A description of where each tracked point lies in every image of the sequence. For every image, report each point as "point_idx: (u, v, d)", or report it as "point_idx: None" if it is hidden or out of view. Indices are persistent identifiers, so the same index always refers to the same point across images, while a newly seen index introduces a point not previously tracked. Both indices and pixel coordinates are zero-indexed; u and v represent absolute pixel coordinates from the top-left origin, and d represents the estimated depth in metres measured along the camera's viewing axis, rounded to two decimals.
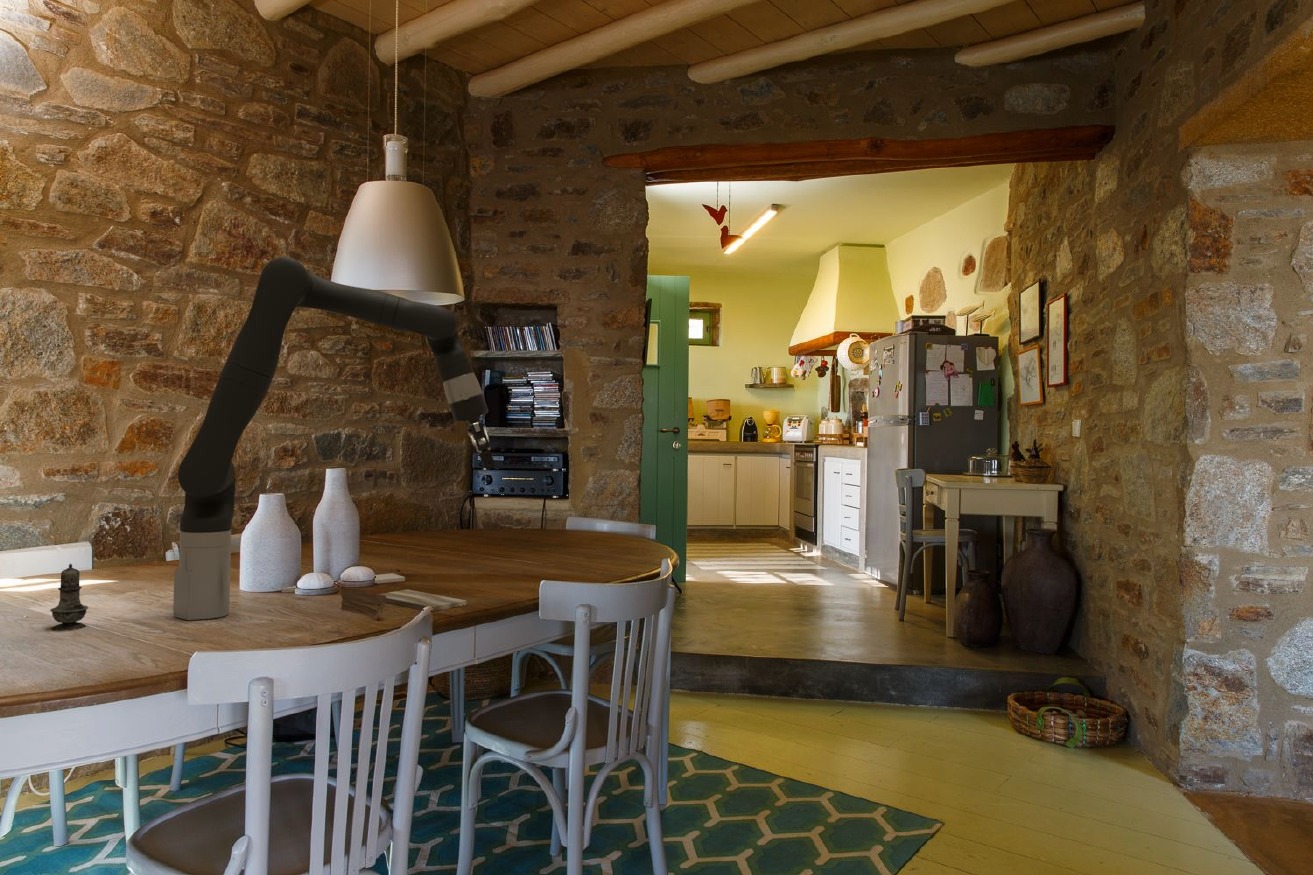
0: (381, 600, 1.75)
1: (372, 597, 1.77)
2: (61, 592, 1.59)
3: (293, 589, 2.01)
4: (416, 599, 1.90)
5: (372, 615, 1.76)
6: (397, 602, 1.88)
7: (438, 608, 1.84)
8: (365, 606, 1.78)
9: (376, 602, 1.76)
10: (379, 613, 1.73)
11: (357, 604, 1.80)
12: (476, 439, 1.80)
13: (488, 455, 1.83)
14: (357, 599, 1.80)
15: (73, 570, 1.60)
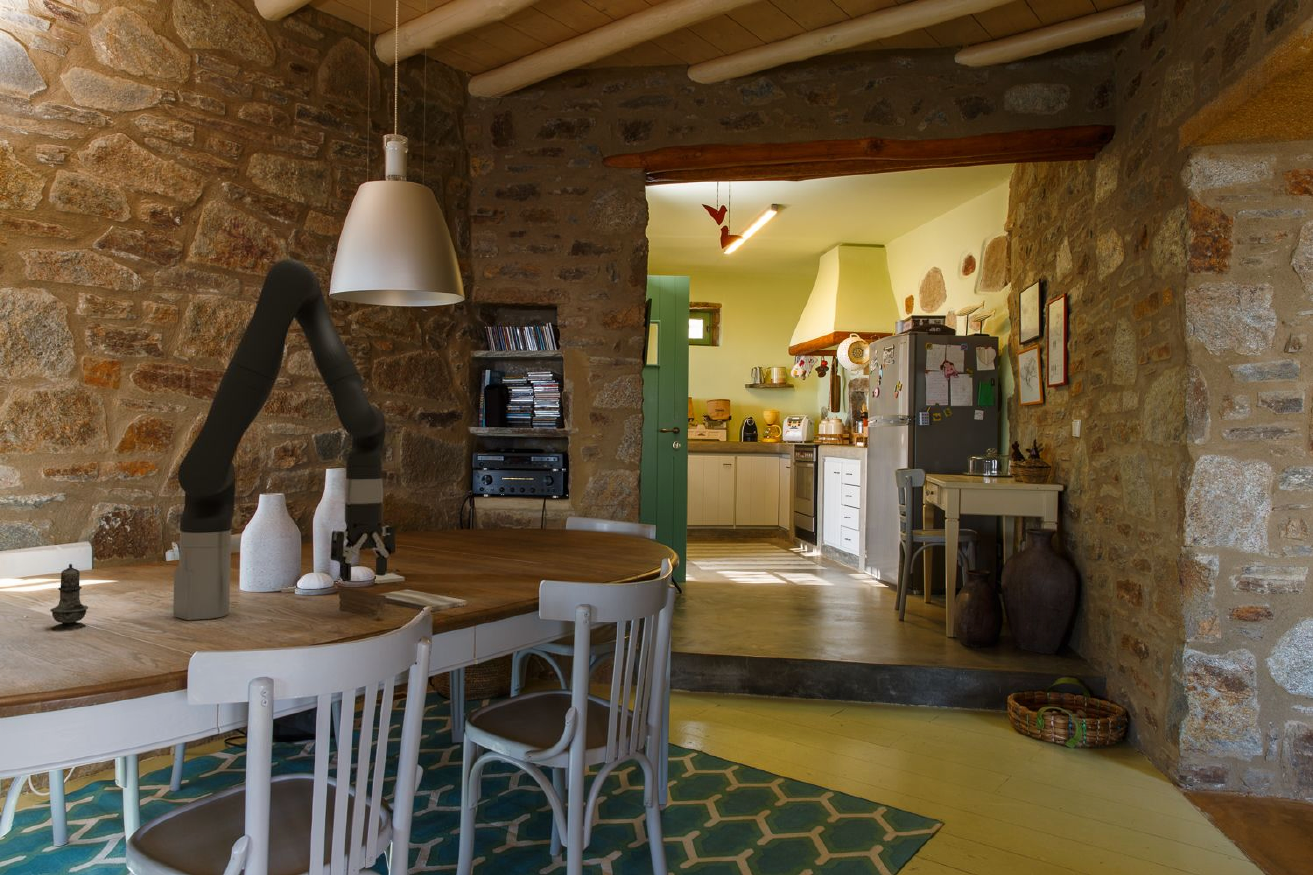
0: (380, 600, 1.74)
1: (372, 597, 1.77)
2: (61, 592, 1.59)
3: (293, 589, 2.01)
4: (416, 599, 1.90)
5: (371, 615, 1.76)
6: (397, 602, 1.88)
7: (438, 608, 1.84)
8: (364, 606, 1.78)
9: (375, 602, 1.76)
10: (379, 613, 1.73)
11: (355, 604, 1.80)
12: (331, 548, 1.73)
13: (343, 567, 1.74)
14: (356, 599, 1.79)
15: (73, 570, 1.60)
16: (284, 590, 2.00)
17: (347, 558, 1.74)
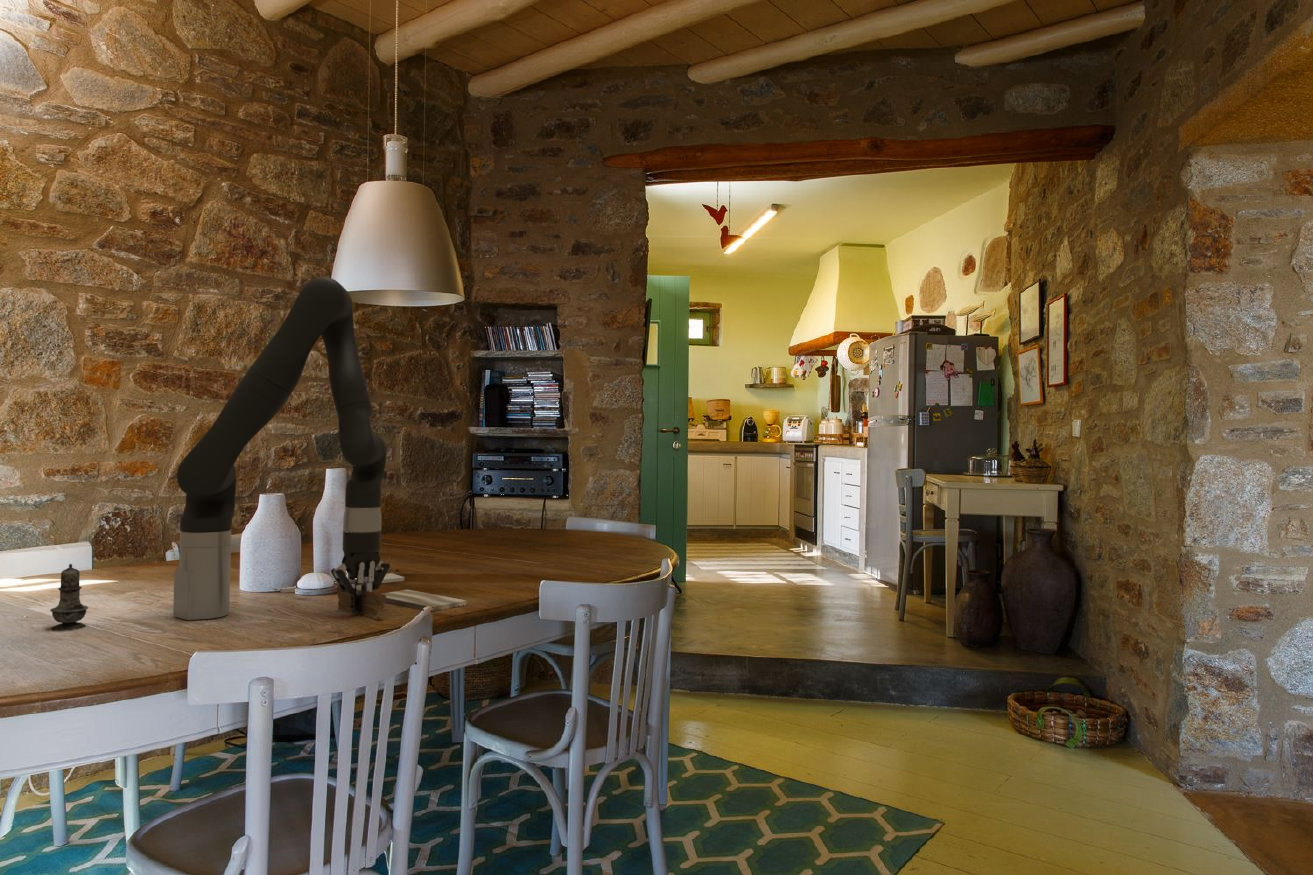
0: (380, 599, 1.74)
1: (371, 597, 1.77)
2: (61, 592, 1.59)
3: (293, 589, 2.01)
4: (416, 599, 1.90)
5: (371, 614, 1.76)
6: (397, 602, 1.88)
7: (438, 608, 1.84)
8: (363, 606, 1.78)
9: (375, 601, 1.76)
10: (380, 613, 1.73)
11: None
12: (338, 584, 1.75)
13: (353, 599, 1.76)
14: None
15: (73, 570, 1.60)
16: (284, 590, 1.99)
17: (357, 591, 1.76)
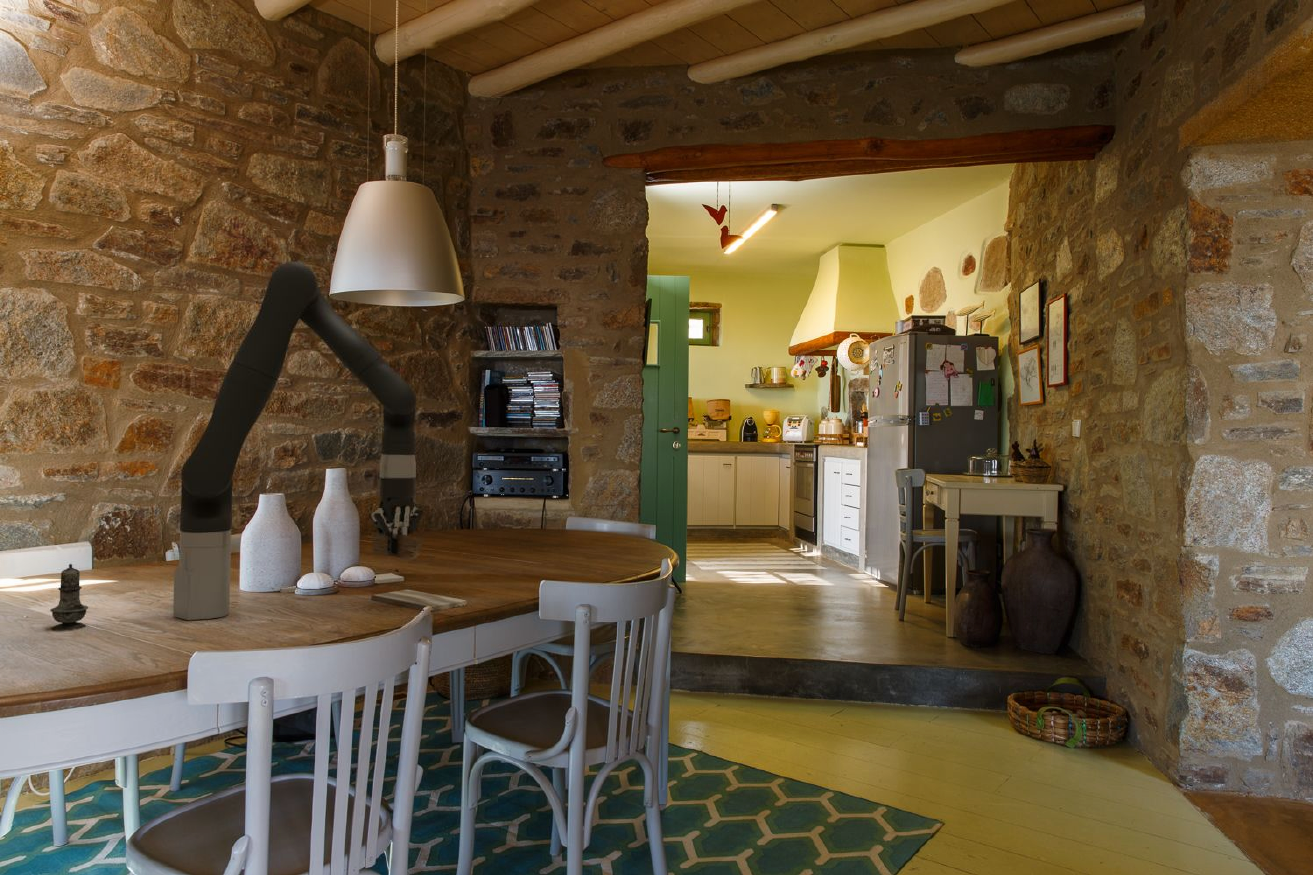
0: (416, 541, 1.83)
1: (407, 540, 1.85)
2: (61, 592, 1.59)
3: (292, 589, 2.01)
4: (416, 599, 1.90)
5: (408, 556, 1.84)
6: (397, 602, 1.88)
7: (438, 608, 1.84)
8: (399, 549, 1.86)
9: (411, 544, 1.84)
10: (417, 554, 1.82)
11: None
12: (376, 527, 1.83)
13: (390, 542, 1.85)
14: None
15: (73, 570, 1.60)
16: (284, 590, 1.99)
17: (393, 534, 1.84)
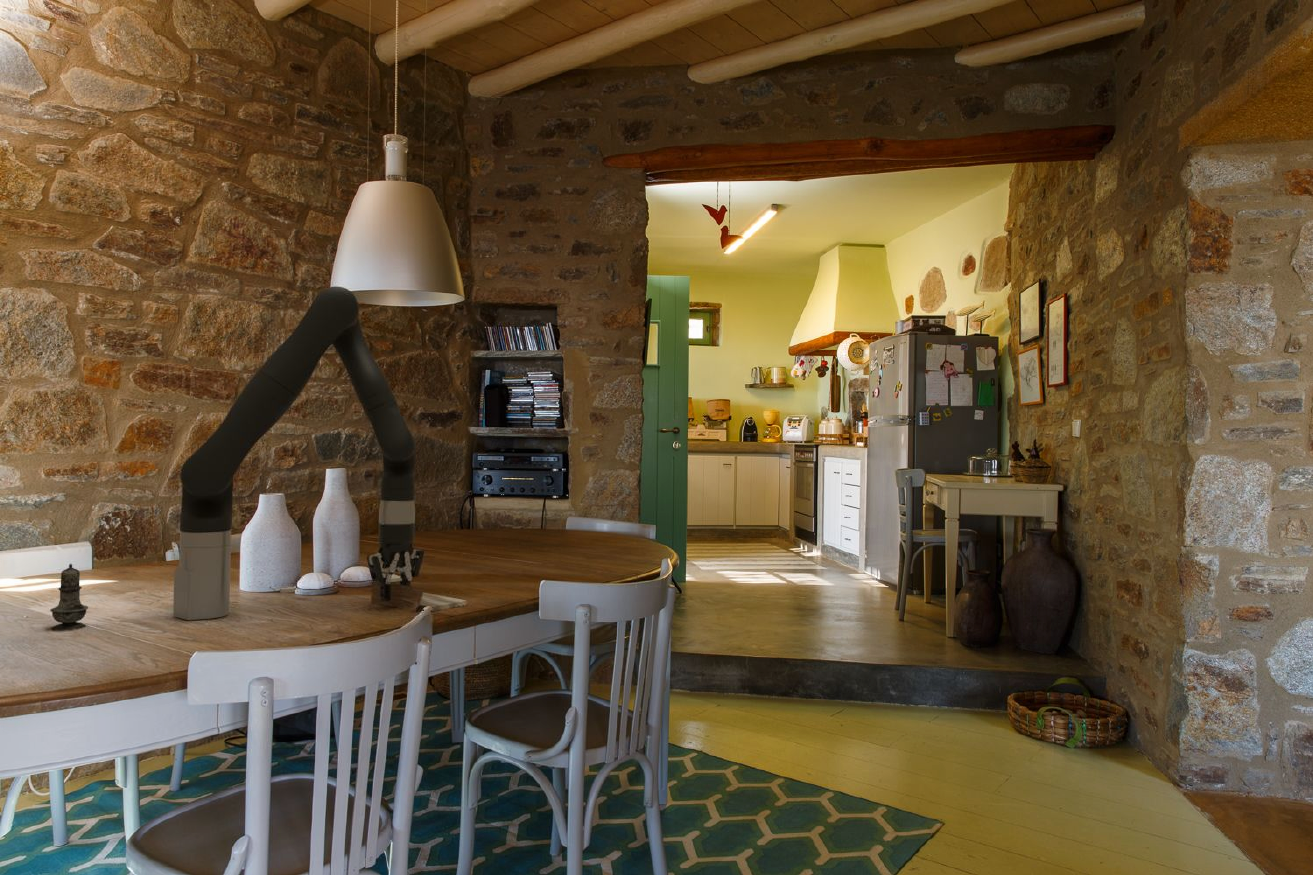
0: (417, 592, 1.83)
1: (407, 590, 1.86)
2: (61, 592, 1.59)
3: (292, 590, 2.00)
4: None
5: (407, 607, 1.84)
6: None
7: (438, 608, 1.84)
8: (398, 599, 1.86)
9: (411, 595, 1.85)
10: (417, 605, 1.82)
11: None
12: (370, 571, 1.82)
13: (383, 588, 1.83)
14: None
15: (73, 570, 1.60)
16: (284, 590, 1.99)
17: (387, 580, 1.83)
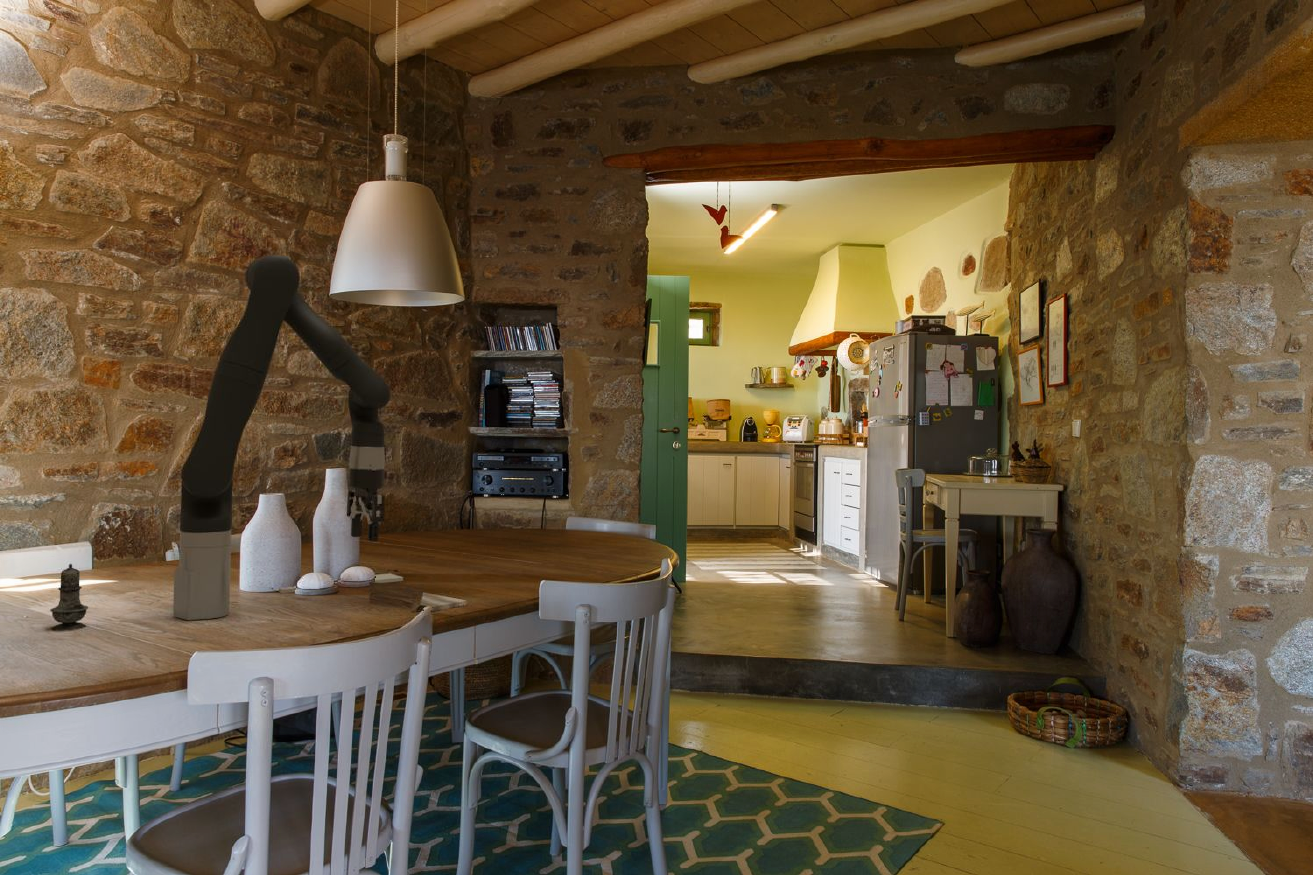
0: (417, 593, 1.83)
1: (406, 591, 1.85)
2: (61, 592, 1.59)
3: (292, 590, 2.00)
4: None
5: (407, 608, 1.84)
6: None
7: (438, 608, 1.84)
8: (398, 599, 1.86)
9: (410, 595, 1.85)
10: (417, 605, 1.82)
11: (387, 598, 1.88)
12: (375, 510, 1.87)
13: (376, 528, 1.89)
14: (388, 593, 1.87)
15: (73, 570, 1.60)
16: (283, 590, 1.99)
17: None
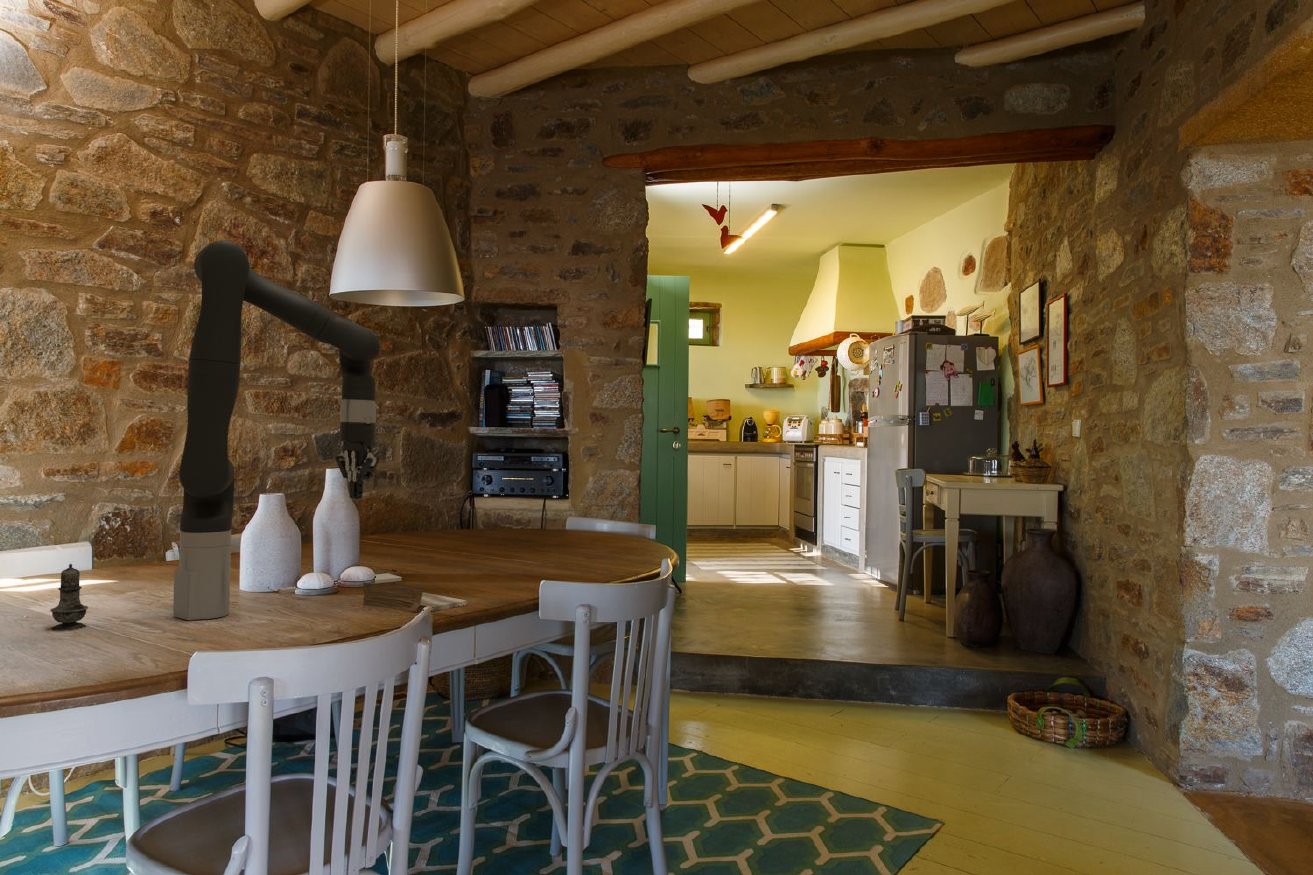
0: (416, 592, 1.83)
1: (404, 590, 1.85)
2: (61, 592, 1.59)
3: (291, 590, 2.00)
4: None
5: (406, 607, 1.83)
6: None
7: (438, 608, 1.84)
8: (395, 600, 1.85)
9: (409, 595, 1.84)
10: (417, 605, 1.82)
11: (384, 598, 1.86)
12: (365, 471, 1.87)
13: (361, 485, 1.90)
14: (385, 594, 1.86)
15: (73, 570, 1.60)
16: (283, 591, 1.98)
17: None
